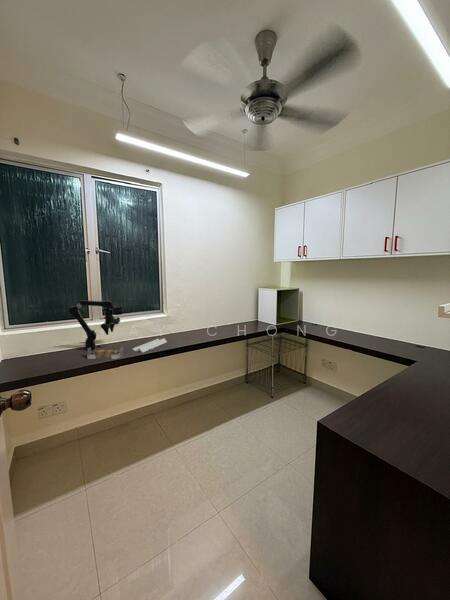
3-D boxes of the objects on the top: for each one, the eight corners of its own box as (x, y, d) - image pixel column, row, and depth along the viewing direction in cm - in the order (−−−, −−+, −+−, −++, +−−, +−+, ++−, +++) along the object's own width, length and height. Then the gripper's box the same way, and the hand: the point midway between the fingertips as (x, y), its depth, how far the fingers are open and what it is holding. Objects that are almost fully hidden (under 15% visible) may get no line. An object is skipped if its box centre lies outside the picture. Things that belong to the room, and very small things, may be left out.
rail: (92, 357, 188) (92, 351, 187) (95, 355, 192) (95, 349, 191) (116, 358, 187) (115, 351, 186) (118, 356, 191) (118, 350, 190)
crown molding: (157, 340, 232) (157, 337, 232) (167, 342, 227) (167, 339, 226) (131, 350, 204) (131, 346, 203) (143, 353, 199) (142, 349, 198)
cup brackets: (86, 358, 184) (85, 349, 184) (91, 354, 193) (91, 346, 192) (120, 358, 185) (119, 349, 184) (124, 354, 194) (123, 346, 193)
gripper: (113, 317, 199) (114, 336, 201) (122, 313, 217) (123, 330, 220) (99, 317, 199) (101, 336, 201) (109, 313, 217) (110, 330, 219)
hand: (109, 333), depth 210 cm, fingers open, 9 cm apart
